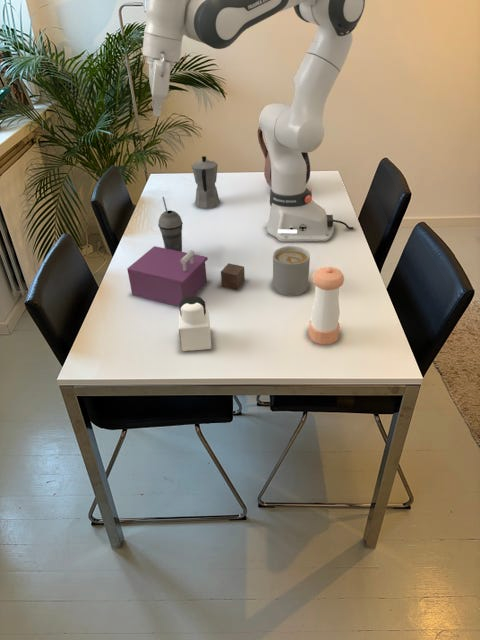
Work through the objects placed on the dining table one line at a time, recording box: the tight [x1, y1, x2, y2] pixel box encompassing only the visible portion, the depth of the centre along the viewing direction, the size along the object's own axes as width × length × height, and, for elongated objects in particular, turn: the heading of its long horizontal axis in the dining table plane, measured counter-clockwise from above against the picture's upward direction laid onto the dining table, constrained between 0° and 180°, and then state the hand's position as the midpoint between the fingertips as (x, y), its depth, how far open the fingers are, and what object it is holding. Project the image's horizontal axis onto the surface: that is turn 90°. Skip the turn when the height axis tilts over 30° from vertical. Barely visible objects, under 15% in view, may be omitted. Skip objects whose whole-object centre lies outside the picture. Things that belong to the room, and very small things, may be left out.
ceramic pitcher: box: [257, 126, 311, 189], centre depth 189 cm, size 18×21×25 cm
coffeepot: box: [191, 155, 221, 210], centre depth 182 cm, size 15×9×18 cm, turn 1°
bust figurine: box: [178, 295, 212, 352], centre depth 119 cm, size 7×7×12 cm
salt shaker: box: [308, 266, 345, 345], centre depth 117 cm, size 7×7×19 cm
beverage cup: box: [157, 196, 184, 252], centre depth 151 cm, size 7×7×20 cm
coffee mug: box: [272, 245, 311, 297], centre depth 140 cm, size 13×10×10 cm
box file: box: [127, 262, 208, 308], centre depth 140 cm, size 17×14×8 cm
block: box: [220, 263, 246, 291], centre depth 142 cm, size 5×5×5 cm
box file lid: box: [126, 245, 208, 284], centre depth 136 cm, size 18×14×5 cm
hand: (155, 111), depth 125 cm, fingers open, 8 cm apart
